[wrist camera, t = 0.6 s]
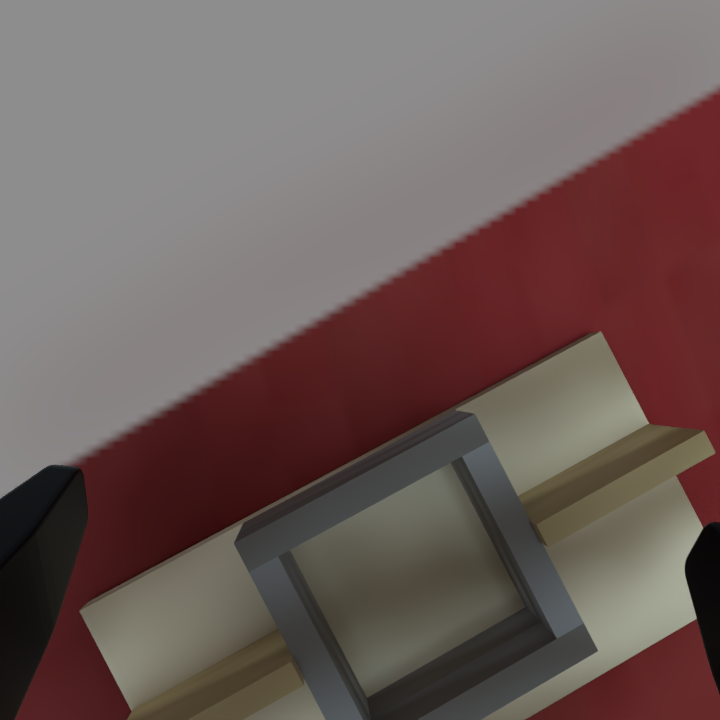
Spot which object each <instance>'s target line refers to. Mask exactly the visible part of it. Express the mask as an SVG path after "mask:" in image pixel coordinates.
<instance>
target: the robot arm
mask: <svg viewBox="0 0 720 720" xmlns="http://www.w3.org/2000/svg"><path fill="white" fill-rule="evenodd" d="M87 519H88V506H87V498H86V490H85V482H84V475H83V472H82V470H81V469H80V468H78V467H75V466H64V465H50V466H48V467H46V468H44V469H42V470H41V471H40V472H38V473H37V474H35V475H34V476H32V477H31V478H30V479H28V480H27V481H25V482H24V483H22V484H21V485H19V486H18V487H17V488H15V489H14V490H12V491H11V492H9V493H8V494H6V495H5V496H4V497H2V498H1V499H0V720H15V718H16V716H17V713H18V711H19V709H20V707H21V704H22V702H23V700H24V697H25V695H26V693H27V691H28V688H29V686H30V684H31V681H32V679H33V677H34V675H35V672H36V670H37V668H38V666H39V663H40V661H41V659H42V656H43V654H44V652H45V650H46V647H47V645H48V642H49V640H50V638H51V635H52V633H53V630H54V627H55V624H56V621H57V618H58V615H59V612H60V609H61V606H62V603H63V600H64V596H65V593H66V590H67V587H68V583H69V580H70V577H71V574H72V570H73V567H74V564H75V561H76V558H77V554H78V551H79V548H80V545H81V541H82V538H83V535H84V532H85V528H86V525H87ZM685 577H686V581H687V585H688V588H689V592H690V596H691V599H692V603H693V607H694V610H695V614H696V617H697V621H698V625H699V628H700V632H701V636H702V639H703V643H704V647H705V650H706V654H707V658H708V661H709V664H710V668H711V671H712V674H713V677H714V680H715V683H716V685H717V688H718V691H719V694H720V522H711V523H708V524H707V525H705V526H704V528H703V529H702V531H701V533H700V535H699V536H698V538H697V540H696V542H695V543H694V545H693V547H692V549H691V551H690V552H689V554H688V556H687V558H686V561H685Z"/></svg>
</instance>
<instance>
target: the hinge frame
mask: <svg viewBox="0 0 720 720" xmlns="http://www.w3.org/2000/svg"><path fill="white" fill-rule="evenodd" d="M713 454H715V451H714V449H713V447H712V445H711V443H710V441H709V439H708V437H707V435H706V433H705V431H703V430H694V429H686V428H677V427H668V426H660V425H651V424H649V423H648V421H647V419H646V417H645V415H644V413H643V411H642V409H641V407H640V405H639V403H638V402H637V400H636V398H635V396H634V394H633V392H632V390H631V388H630V386H629V384H628V382H627V380H626V378H625V376H624V375H623V373H622V371H621V369H620V367H619V365H618V363H617V361H616V359H615V357H614V355H613V353H612V351H611V350H610V348H609V346H608V344H607V342H606V340H605V338H604V336H603V334H602V332H601V331H600V332H595V333H590V334H588V335H586V336H584V337H582V338H580V339H578V340H576V341H575V342H573V343H571V344H569V345H567V346H565V347H563V348H562V349H560V350H558V351H556V352H554V353H552V354H550V355H548V356H547V357H545V358H543V359H541V360H539V361H537V362H535V363H533V364H532V365H530V366H528V367H526V368H524V369H522V370H520V371H519V372H517V373H515V374H513V375H511V376H509V377H507V378H505V379H504V380H502V381H500V382H498V383H496V384H494V385H492V386H491V387H489V388H487V389H485V390H483V391H481V392H479V393H477V394H476V395H474V396H472V397H470V398H468V399H466V400H464V401H462V402H461V403H459V404H457V405H455V406H453V407H451V408H449V409H448V410H446V411H444V412H442V413H440V414H438V415H436V416H434V417H433V418H431V419H429V420H427V421H425V422H423V423H421V424H419V425H418V426H416V427H414V428H412V429H410V430H408V431H406V432H405V433H403V434H401V435H399V436H397V437H395V438H393V439H391V440H390V441H388V442H386V443H384V444H382V445H380V446H378V447H377V448H375V449H373V450H371V451H369V452H367V453H365V454H363V455H362V456H360V457H358V458H356V459H354V460H352V461H350V462H348V463H347V464H345V465H343V466H341V467H339V468H337V469H335V470H334V471H332V472H330V473H328V474H326V475H324V476H322V477H320V478H319V479H317V480H315V481H313V482H311V483H309V484H307V485H306V486H304V487H302V488H300V489H298V490H296V491H294V492H292V493H291V494H289V495H287V496H285V497H283V498H281V499H279V500H277V501H276V502H274V503H272V504H270V505H268V506H266V507H264V508H263V509H261V510H259V511H257V512H255V513H253V514H251V515H249V516H248V517H246V518H244V519H242V520H240V521H238V522H236V523H235V524H233V525H231V526H229V527H227V528H225V529H223V530H221V531H220V532H218V533H216V534H214V535H212V536H210V537H208V538H206V539H205V540H203V541H201V542H199V543H197V544H195V545H193V546H192V547H190V548H188V549H186V550H184V551H182V552H180V553H178V554H177V555H175V556H173V557H171V558H169V559H167V560H165V561H163V562H162V563H160V564H158V565H156V566H154V567H152V568H150V569H149V570H147V571H145V572H143V573H141V574H139V575H137V576H135V577H134V578H132V579H130V580H128V581H126V582H124V583H122V584H121V585H119V586H117V587H115V588H113V589H111V590H109V591H107V592H106V593H104V594H102V595H100V596H98V597H96V598H94V599H92V600H91V601H89V602H88V603H87V604H86V605H85V606H84V607H83V608H82V609H81V610H80V613H81V615H82V617H83V619H84V621H85V623H86V625H87V627H88V629H89V630H90V632H91V634H92V636H93V638H94V640H95V642H96V644H97V646H98V648H99V650H100V652H101V653H102V655H103V657H104V659H105V661H106V663H107V665H108V667H109V669H110V671H111V673H112V675H113V676H114V678H115V680H116V682H117V684H118V686H119V688H120V690H121V692H122V694H123V696H124V697H125V699H126V701H127V703H128V705H129V707H130V709H131V711H132V712H131V713H130V715H129V717H128V719H127V720H525V719H527V718H529V717H530V716H532V715H534V714H535V713H537V712H539V711H541V710H542V709H544V708H546V707H547V706H549V705H551V704H552V703H554V702H556V701H558V700H559V699H561V698H563V697H564V696H566V695H568V694H569V693H571V692H573V691H575V690H576V689H578V688H580V687H581V686H583V685H585V684H586V683H588V682H590V681H592V680H593V679H595V678H597V677H598V676H600V675H602V674H603V673H605V672H607V671H609V670H610V669H612V668H614V667H615V666H617V665H619V664H620V663H622V662H624V661H625V660H627V659H629V658H631V657H632V656H634V655H636V654H637V653H639V652H641V651H642V650H644V649H646V648H648V647H649V646H651V645H653V644H654V643H656V642H658V641H659V640H661V639H663V638H665V637H666V636H668V635H670V634H671V633H673V632H675V631H676V630H678V629H680V628H682V627H683V626H685V625H687V624H688V623H690V622H692V621H693V620H695V619H697V617H696V614H695V610H694V607H693V603H692V599H691V596H690V592H689V588H688V585H687V581H686V577H685V561H686V558H687V556H688V554H689V552H690V551H691V549H692V547H693V545H694V543H695V542H696V540H697V538H698V536H699V535H700V533H701V531H702V529H703V527H702V525H701V523H700V521H699V519H698V517H697V515H696V513H695V511H694V509H693V507H692V506H691V504H690V502H689V500H688V498H687V496H686V494H685V492H684V490H683V488H682V486H681V484H680V482H679V480H678V479H677V477H676V475H677V474H679V473H681V472H683V471H685V470H686V469H688V468H690V467H692V466H693V465H695V464H697V463H699V462H700V461H702V460H704V459H706V458H708V457H709V456H711V455H713Z"/></svg>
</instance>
